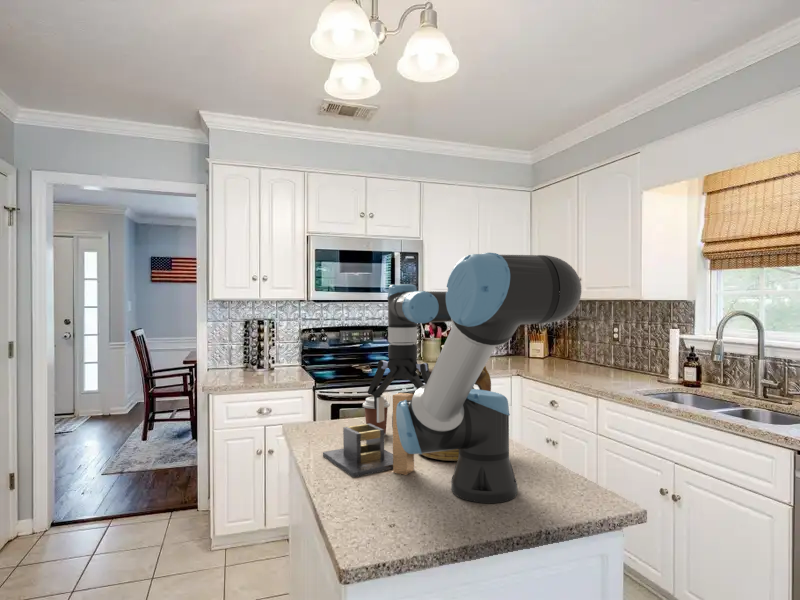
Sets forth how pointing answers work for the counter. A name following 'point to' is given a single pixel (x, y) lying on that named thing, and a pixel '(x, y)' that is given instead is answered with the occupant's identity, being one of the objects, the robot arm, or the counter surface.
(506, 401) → the robot arm
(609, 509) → the counter surface
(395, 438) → the tapered wooden post
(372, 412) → the coffee cup
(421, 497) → the counter surface
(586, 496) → the counter surface
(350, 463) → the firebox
